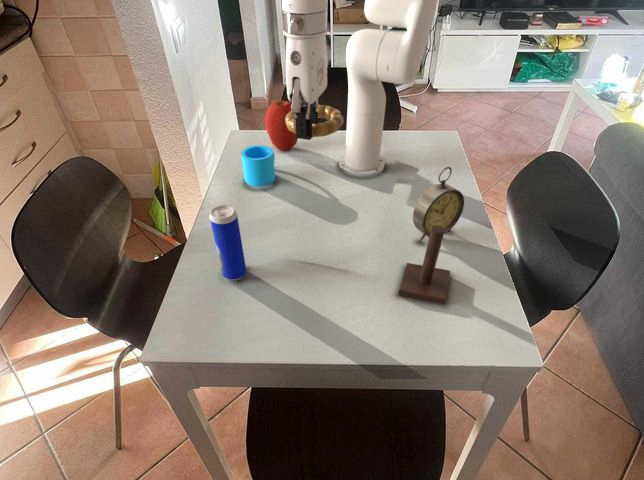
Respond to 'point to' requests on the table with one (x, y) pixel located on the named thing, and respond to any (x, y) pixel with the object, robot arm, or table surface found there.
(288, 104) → the apple
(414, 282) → the stand
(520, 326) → the table surface
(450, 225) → the alarm clock
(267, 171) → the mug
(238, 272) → the beverage can
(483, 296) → the table surface
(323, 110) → the ring
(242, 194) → the table surface
